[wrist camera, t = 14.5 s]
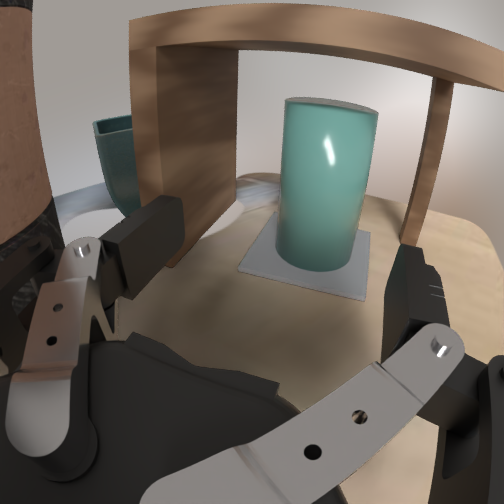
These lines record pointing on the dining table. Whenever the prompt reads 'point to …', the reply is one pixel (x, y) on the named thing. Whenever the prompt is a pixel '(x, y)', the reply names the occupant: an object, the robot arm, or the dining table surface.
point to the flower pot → (118, 161)
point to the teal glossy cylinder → (322, 180)
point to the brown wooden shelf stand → (226, 84)
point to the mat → (334, 282)
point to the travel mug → (21, 146)
